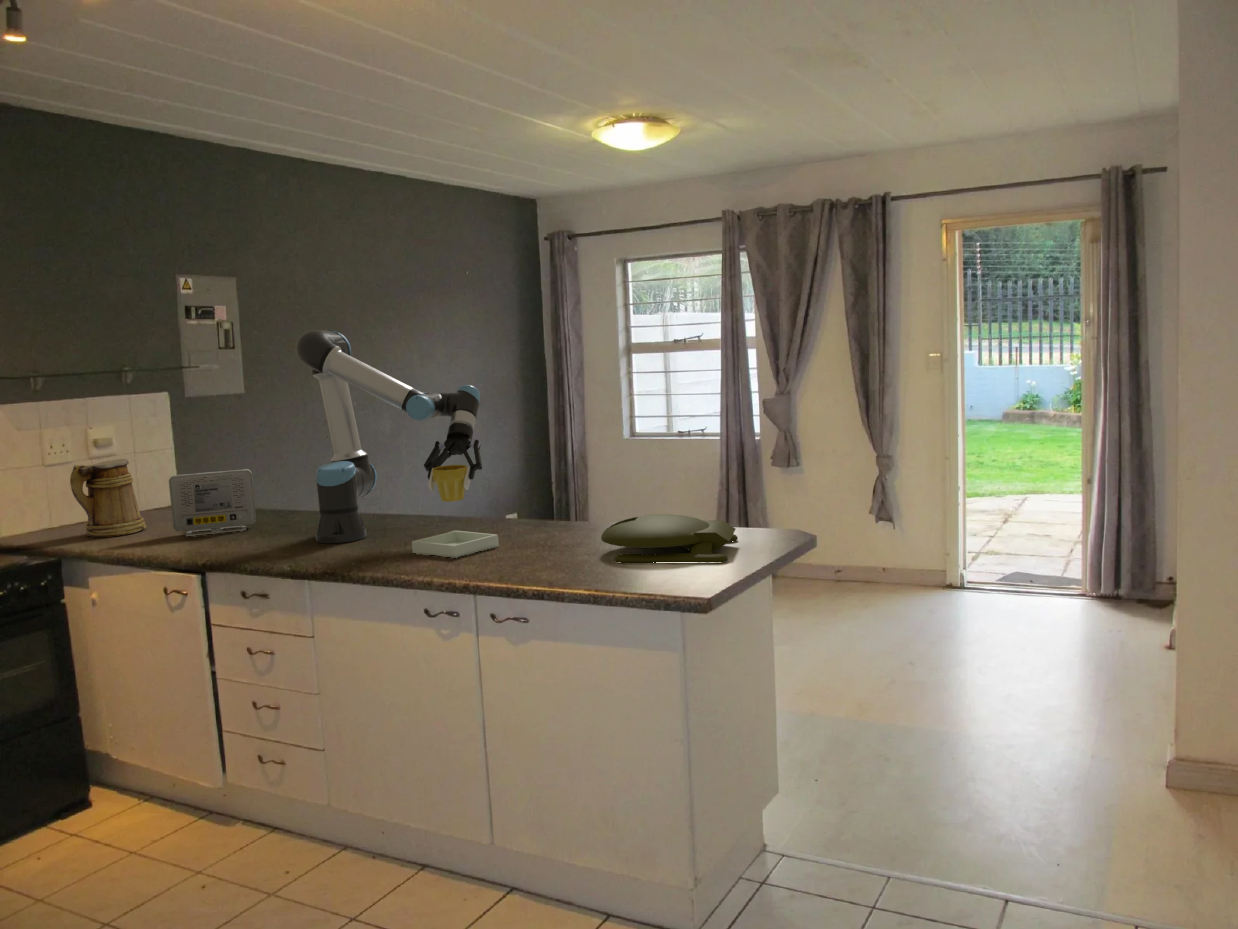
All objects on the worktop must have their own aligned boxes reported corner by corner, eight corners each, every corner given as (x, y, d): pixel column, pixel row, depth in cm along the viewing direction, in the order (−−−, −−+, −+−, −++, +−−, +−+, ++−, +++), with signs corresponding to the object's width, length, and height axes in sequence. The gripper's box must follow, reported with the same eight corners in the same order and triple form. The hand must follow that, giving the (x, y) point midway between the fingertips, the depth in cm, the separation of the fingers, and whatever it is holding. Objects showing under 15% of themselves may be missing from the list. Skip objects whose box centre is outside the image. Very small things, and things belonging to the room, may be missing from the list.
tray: (412, 553, 278) (411, 541, 277) (456, 542, 291) (455, 530, 291) (455, 558, 268) (454, 546, 267) (498, 546, 281) (497, 534, 281)
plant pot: (463, 502, 289) (460, 469, 288) (429, 503, 291) (427, 470, 290) (474, 496, 299) (472, 464, 298) (442, 496, 301) (439, 465, 300)
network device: (256, 525, 340) (251, 468, 337) (257, 529, 331) (251, 470, 329) (175, 534, 331) (169, 474, 328) (173, 538, 323) (167, 477, 320)
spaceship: (738, 540, 275) (737, 506, 273) (727, 565, 245) (725, 526, 244) (615, 541, 282) (613, 507, 281) (589, 566, 252) (587, 528, 251)
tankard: (157, 528, 344) (150, 457, 341) (98, 542, 323) (89, 466, 320) (121, 527, 352) (113, 457, 349) (60, 540, 331) (51, 466, 328)
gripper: (500, 435, 306) (488, 494, 292) (429, 437, 310) (415, 496, 296) (493, 419, 300) (481, 479, 287) (422, 422, 304) (407, 481, 291)
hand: (448, 487), depth 291 cm, fingers closed on plant pot, 10 cm apart
